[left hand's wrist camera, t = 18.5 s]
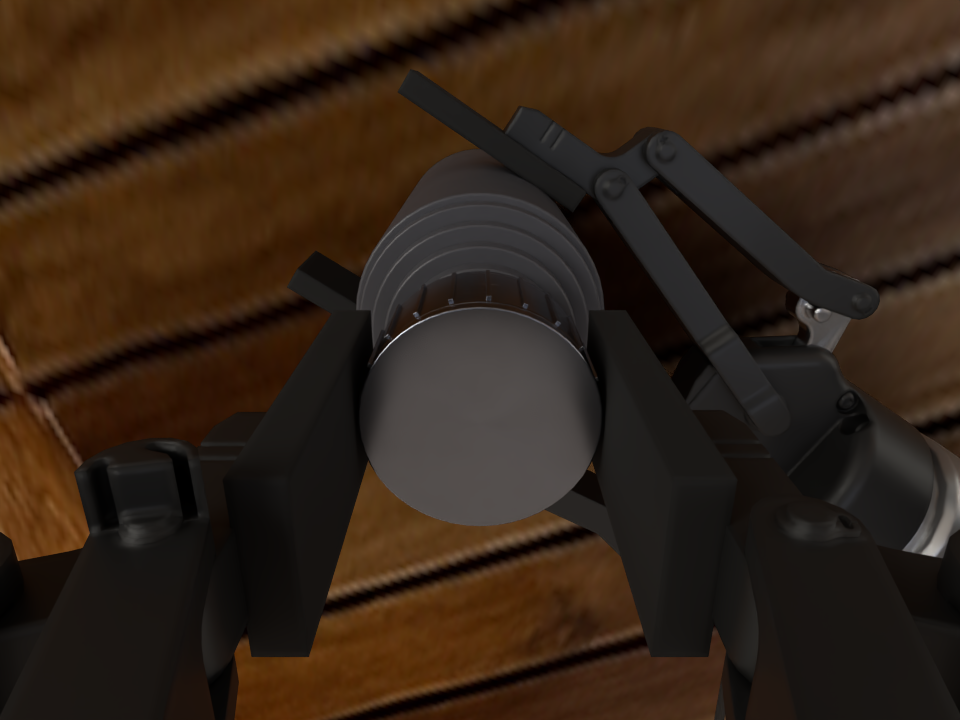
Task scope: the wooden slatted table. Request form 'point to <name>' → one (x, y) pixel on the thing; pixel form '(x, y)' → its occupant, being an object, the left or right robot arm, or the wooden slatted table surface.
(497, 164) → the bottle
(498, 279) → the cap
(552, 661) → the wooden slatted table surface
